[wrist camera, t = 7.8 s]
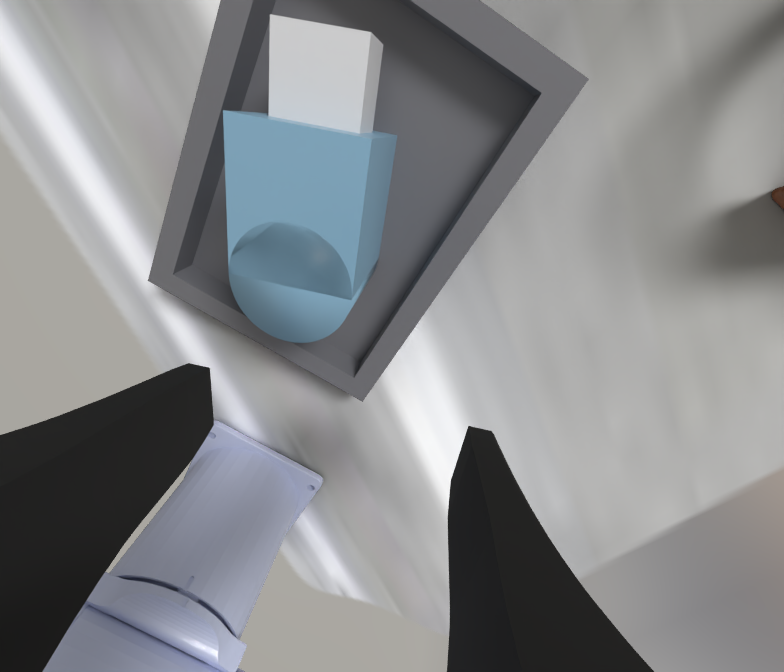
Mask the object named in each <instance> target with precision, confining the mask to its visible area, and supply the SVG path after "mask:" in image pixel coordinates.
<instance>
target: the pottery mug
mask: <svg viewBox="0 0 784 672" xmlns="http://www.w3.org/2000/svg"><path fill="white" fill-rule="evenodd" d="M772 198H773V200H774V201H775V202H776V203H778V204H779V205H780V207H781V208H783V209H784V186H783V187H779V188H777V189H775V190H774V191H773V192H772Z"/></svg>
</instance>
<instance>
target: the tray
mask: <svg viewBox="0 0 784 672" xmlns="http://www.w3.org/2000/svg"><path fill="white" fill-rule="evenodd" d="M270 14H272V15H277V16H283V17H289V18H294V19H300V20H305V21H311V22H317V23H322V24H328V25H334V26H339V27H345V28H351V29H356V30H362V31H368V32H371V33H372V34H373V35H374V36H375V37H376V38H377V39H378V40H379V41H380V42H381V43H382V44H383V52H382V60H381V68H380V76H379V84H378V92H377V100H376V108H375V116H374V124H373V131H377V132H382V133H388V134H393V135H397V142H396V148H395V155H394V161H393V168H392V174H391V181H390V187H389V194H388V200H387V207H386V213H385V220H384V226H383V233H382V239H381V246H380V253H379V259H378V263H377V266H376V269H375V271H374V273H373V275H372V276H371V278H370V279H369V281H368V283H367V284H366V286H365V288H364V289H363V291H362V292H361V294H360V296H359V297H358V299H357V301H356V302H355V304H354V306H353V307H352V309H351V310H350V312H349V314H348V315H347V317H346V319H345V320H344V322H343V323H342V324H341V326H340V327H339V328H338V329H337V330H336V331H335V332H333V333H332V334H330V335H329V336H327V337H325V338H323V339H321V340H318V341H314V342H308V343H294V342H288V341H284V340H281V339H278V338H276V337H273V336H271V335H269V334H267V333H266V332H264V331H263V330H261V329H260V328H258V327H257V326H256V325H255V324H254V323H252V322H251V321H250V320H249V319H248V317H247V316H246V315H245V314H244V313H243V311H242V310H241V308H240V307H239V305H238V304H237V301H236V299H235V297H234V295H233V292H232V289H231V285H230V281H229V266H228V238H227V209H226V181H225V153H224V125H223V110H227V111H242V112H257V113H269V40H270ZM587 81H588V78H587V77H585V76H584V75H583V74H581V73H580V72H578V71H577V70H576V69H574V68H573V67H572V66H570V65H569V64H567V63H566V62H565V61H563V60H562V59H560V58H559V57H558V56H556V55H555V54H553V53H552V52H551V51H549V50H548V49H547V48H545V47H544V46H542V45H541V44H540V43H538V42H537V41H535V40H534V39H533V38H531V37H530V36H529V35H527V34H526V33H524V32H523V31H522V30H520V29H519V28H517V27H516V26H515V25H513V24H512V23H510V22H509V21H508V20H506V19H505V18H504V17H502V16H501V15H499V14H498V13H497V12H495V11H494V10H492V9H491V8H490V7H488V6H487V5H486V4H484V3H483V2H481V1H480V0H221V2H220V6H219V9H218V13H217V17H216V21H215V25H214V29H213V32H212V36H211V40H210V44H209V48H208V52H207V56H206V59H205V63H204V67H203V71H202V75H201V79H200V83H199V86H198V90H197V94H196V98H195V102H194V106H193V109H192V113H191V117H190V121H189V125H188V129H187V133H186V136H185V140H184V144H183V148H182V152H181V156H180V160H179V163H178V167H177V171H176V175H175V179H174V183H173V186H172V190H171V194H170V198H169V202H168V206H167V210H166V213H165V217H164V221H163V225H162V229H161V233H160V237H159V240H158V244H157V248H156V252H155V256H154V260H153V263H152V267H151V271H150V275H149V279H148V281H150V282H151V283H153V284H155V285H157V286H158V287H160V288H162V289H164V290H166V291H167V292H169V293H171V294H173V295H174V296H176V297H178V298H180V299H182V300H183V301H185V302H187V303H189V304H190V305H192V306H194V307H196V308H197V309H199V310H201V311H203V312H205V313H206V314H208V315H210V316H212V317H213V318H215V319H217V320H219V321H221V322H222V323H224V324H226V325H228V326H229V327H231V328H233V329H235V330H236V331H238V332H240V333H242V334H244V335H245V336H247V337H249V338H251V339H252V340H254V341H256V342H258V343H260V344H261V345H263V346H265V347H267V348H268V349H270V350H272V351H274V352H275V353H277V354H279V355H281V356H283V357H284V358H286V359H288V360H290V361H291V362H293V363H295V364H297V365H299V366H300V367H302V368H304V369H306V370H307V371H309V372H311V373H313V374H314V375H316V376H318V377H320V378H322V379H323V380H325V381H327V382H329V383H330V384H332V385H334V386H336V387H337V388H339V389H341V390H343V391H345V392H346V393H348V394H350V395H352V396H353V397H355V398H357V399H359V400H361V401H362V402H363V400H364V399H365V397H366V396H367V394H368V393H369V392H370V390H371V389H372V387H373V386H374V384H375V383H376V382H377V380H378V379H379V377H380V376H381V374H382V373H383V372H384V370H385V369H386V367H387V366H388V364H389V363H390V362H391V360H392V359H393V357H394V356H395V355H396V353H397V352H398V350H399V349H400V347H401V346H402V345H403V343H404V342H405V340H406V339H407V337H408V336H409V335H410V333H411V332H412V330H413V329H414V327H415V326H416V325H417V323H418V322H419V320H420V319H421V317H422V316H423V315H424V313H425V312H426V310H427V309H428V307H429V306H430V305H431V303H432V302H433V300H434V299H435V298H436V296H437V295H438V293H439V292H440V290H441V289H442V288H443V286H444V285H445V283H446V282H447V280H448V279H449V278H450V276H451V275H452V273H453V272H454V270H455V269H456V268H457V266H458V265H459V263H460V262H461V260H462V259H463V258H464V256H465V255H466V253H467V252H468V250H469V249H470V248H471V246H472V245H473V243H474V242H475V241H476V239H477V238H478V236H479V235H480V233H481V232H482V231H483V229H484V228H485V226H486V225H487V223H488V222H489V221H490V219H491V218H492V216H493V215H494V213H495V212H496V211H497V209H498V208H499V206H500V205H501V203H502V202H503V201H504V199H505V198H506V196H507V195H508V193H509V192H510V191H511V189H512V188H513V186H514V185H515V184H516V182H517V181H518V179H519V178H520V176H521V175H522V174H523V172H524V171H525V169H526V168H527V166H528V165H529V164H530V162H531V161H532V159H533V158H534V156H535V155H536V154H537V152H538V151H539V149H540V148H541V146H542V145H543V144H544V142H545V141H546V139H547V138H548V136H549V135H550V134H551V132H552V131H553V129H554V128H555V127H556V125H557V124H558V122H559V121H560V119H561V118H562V117H563V115H564V114H565V112H566V111H567V109H568V108H569V107H570V105H571V104H572V102H573V101H574V99H575V98H576V97H577V95H578V94H579V92H580V91H581V89H582V88H583V87H584V85H585V84H586V82H587Z"/></svg>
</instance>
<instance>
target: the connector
mask: <svg viewBox="0 0 784 672" xmlns="http://www.w3.org/2000/svg"><path fill="white" fill-rule="evenodd" d="M382 52H383V44H382V43H381V42H380V41H379V40H378V39H377V38H376V37H375V36H374V35H373V34H372V33H371V32H368V31H362V30H356V29H351V28H345V27H339V26H334V25H328V24H322V23H317V22H311V21H305V20H300V19H294V18H289V17H283V16H277V15H272V14H270V40H269V113H257V112H242V111H227V110H223V125H224V153H225V181H226V209H227V238H228V266H229V281H230V285H231V289H232V292H233V295H234V297H235V299H236V301H237V304H238V305H239V307H240V308H241V310H242V311H243V313H244V314H245V315H246V316H247V317H248V319H249V320H250V321H251V322H252V323H254V324H255V325H256V326H257V327H258V328H260V329H261V330H263V331H264V332H266V333H267V334H269V335H271V336H273V337H276V338H278V339H281V340H284V341H288V342H294V343H308V342H314V341H318V340H321V339H323V338H325V337H327V336H329V335H330V334H332V333H333V332H335V331H336V330H337V329H338V328H339V327H340V326H341V324H342V323H343V322H344V320H345V319H346V317H347V315H348V314H349V312H350V310H351V309H352V307H353V306H354V304H355V302H356V301H357V299H358V297H359V296H360V294H361V292H362V291H363V289H364V288H365V286H366V284H367V283H368V281H369V279H370V278H371V276H372V275H373V273H374V271H375V269H376V266H377V263H378V259H379V253H380V246H381V239H382V233H383V226H384V220H385V213H386V207H387V200H388V194H389V187H390V181H391V174H392V168H393V161H394V155H395V148H396V142H397V135H393V134H388V133H382V132H377V131H373V124H374V116H375V108H376V100H377V92H378V84H379V76H380V68H381V60H382Z"/></svg>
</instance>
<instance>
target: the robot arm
mask: <svg viewBox="0 0 784 672" xmlns="http://www.w3.org/2000/svg"><path fill="white" fill-rule="evenodd" d="M191 460H192V461H191ZM190 461H191V464H190V466H189V468H188V471H187V473H186V475H185V477H184V480H183V481H182V482H181V483H180V485H179V486H178V487H177V489H176V490H175V491H174V492H173V494H172V495H171V496H170V497H169V499H168V500H167V501H166V502H165V504H164V505H163V506H162V508H161V509H160V510H159V511H158V513H157V514H156V515H155V516H154V518H153V519H152V520H151V521H150V523H149V524H148V525H147V526H146V528H145V529H144V530H143V531H142V533H141V534H140V535H139V536H138V538H137V539H136V540H135V542H134V543H133V544H132V545H131V547H130V548H129V549H128V550H127V552H126V553H125V554H124V555H123V557H122V558H121V559H120V561H119V562H118V563H117V564H116V566H115V567H114V568H113V569H112V571H111V572H110V573H107V572H105V571H106V570H107V568H108V567H109V566H110V564H111V563H112V561H113V560H114V558H115V557H116V555H117V554H118V552H119V551H120V549H121V548H122V546H123V545H124V543H125V542H126V541H127V540H128V538H129V537H130V536H131V534H132V533H133V532H134V530H135V529H136V528H137V527H138V525H139V524H140V523H141V521H142V520H143V519H144V518H145V517H146V516H147V514H148V513H149V512H150V511H151V509H152V508H153V507H154V506H155V504H156V503H157V502H158V501H159V500H160V498H161V497H162V496H163V495H164V493H165V492H166V491H167V490H168V489H169V488H170V486H171V485H172V484H173V483H174V481H175V480H176V479H177V478H178V477H179V475H180V474H181V473H182V472H183V470H184V469H185V468H186V466H187V465H188V464H189V463H190ZM322 483H323V478H322V477H321V476H320V475H319V474H317V473H315V472H313V471H311V470H309V469H308V468H306V467H304V466H302V465H300V464H298V463H296V462H294V461H292V460H291V459H289V458H287V457H285V456H283V455H281V454H279V453H277V452H276V451H274V450H272V449H270V448H268V447H266V446H264V445H262V444H261V443H259V442H257V441H255V440H253V439H251V438H249V437H247V436H246V435H244V434H242V433H240V432H238V431H236V430H234V429H232V428H231V427H229V426H227V425H225V424H223V423H221V422H219V421H215V420H214V419H213V406H212V392H211V379H210V368H208V367H203V366H199V365H194V364H190V363H188V364H185V365H183V366H180V367H177V368H175V369H172V370H170V371H167V372H165V373H163V374H160V375H158V376H156V377H153V378H151V379H149V380H146V381H144V382H142V383H139V384H137V385H135V386H132V387H130V388H127V389H125V390H123V391H120V392H118V393H116V394H113V395H111V396H108V397H106V398H104V399H101V400H99V401H96V402H93V403H91V404H88V405H85V406H83V407H80V408H78V409H75V410H73V411H70V412H67V413H65V414H63V415H60V416H57V417H54V418H51V419H48V420H46V421H43V422H40V423H37V424H34V425H31V426H28V427H25V428H22V429H18V430H15V431H12V432H9V433H6V434H3V435H0V672H245V671H243V670H241V669H239V668H238V666H239V664H240V661H241V659H242V657H243V654H244V652H245V649H246V647H247V645H246V644H245V643H244V642H242V641H240V637H241V635H242V633H243V630H244V628H245V626H246V623H247V621H248V619H249V617H250V614H251V612H252V610H253V608H254V605H255V603H256V601H257V598H258V596H259V594H260V591H261V589H262V587H263V585H264V582H265V580H266V578H267V575H268V573H269V571H270V569H271V566H272V564H273V562H274V559H275V557H276V555H277V553H278V550H279V548H280V546H281V543H282V541H283V539H284V537H285V534H286V533H287V532H288V530H289V529H290V528H291V526H292V525H293V524H294V522H295V521H296V520H297V518H298V517H299V516H300V514H301V513H302V512H303V510H304V509H305V507H306V506H307V505H308V503H309V502H310V501H311V499H312V498H313V497H314V495H315V494H316V493H317V491H318V490H319V489H320V487H321V485H322ZM312 485H313V486H312ZM448 550H449V588H450V632H449V650H448V666H447V672H654V671H653V670H652V669H651V668H650V667H649V666H648V665H647V663H646V662H645V661H644V660H643V659H642V658H641V657H640V656H639V654H638V653H637V652H636V651H635V650H634V649H633V648H632V646H631V645H630V644H629V643H628V642H627V641H626V639H625V638H624V637H623V636H622V635H621V634H620V632H619V631H618V630H617V629H616V627H615V626H614V625H613V624H612V623H611V621H610V620H609V619H608V618H607V616H606V615H605V614H604V613H603V611H602V610H601V609H600V608H599V607H598V605H597V604H596V603H595V602H594V600H593V599H592V598H591V597H590V595H589V594H588V593H587V592H586V590H585V589H584V588H583V586H582V585H581V583H580V582H579V581H578V579H577V578H576V577H575V575H574V574H573V572H572V571H571V570H570V568H569V567H568V565H567V564H566V563H565V561H564V560H563V558H562V557H561V555H560V554H559V552H558V551H557V549H556V548H555V546H554V545H553V543H552V542H551V540H550V539H549V537H548V535H547V534H546V532H545V530H544V529H543V527H542V526H541V524H540V522H539V521H538V519H537V517H536V516H535V514H534V512H533V511H532V509H531V507H530V505H529V504H528V502H527V500H526V498H525V496H524V494H523V493H522V491H521V489H520V487H519V485H518V483H517V482H516V480H515V478H514V476H513V474H512V472H511V470H510V468H509V466H508V464H507V462H506V460H505V458H504V455H503V453H502V451H501V449H500V447H499V445H498V443H497V440H496V438H495V436H494V434H493V433H492V431H488V430H484V429H479V428H475V427H471V426H468V429H467V432H466V436H465V439H464V442H463V445H462V448H461V451H460V454H459V457H458V460H457V463H456V467H455V470H454V473H453V476H452V479H451V486H450V497H449V509H448Z"/></svg>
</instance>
